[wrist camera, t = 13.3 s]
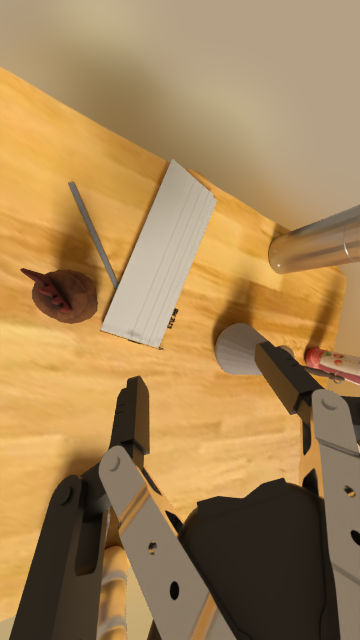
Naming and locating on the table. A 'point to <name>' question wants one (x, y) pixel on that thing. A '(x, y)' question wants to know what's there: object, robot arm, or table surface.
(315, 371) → the coffee pot
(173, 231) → the baseboard molding
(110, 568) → the plastic bottle
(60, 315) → the wooden figurine
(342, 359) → the liquor
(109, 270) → the thin grey rod
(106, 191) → the table surface
